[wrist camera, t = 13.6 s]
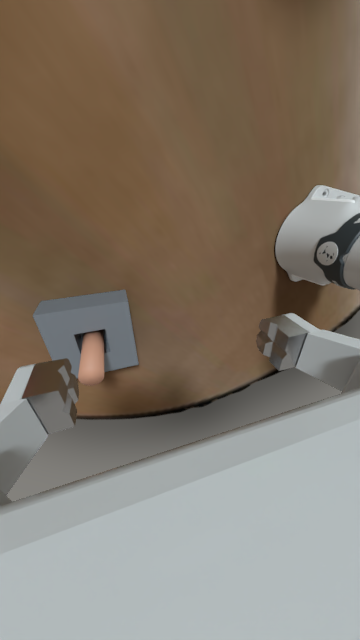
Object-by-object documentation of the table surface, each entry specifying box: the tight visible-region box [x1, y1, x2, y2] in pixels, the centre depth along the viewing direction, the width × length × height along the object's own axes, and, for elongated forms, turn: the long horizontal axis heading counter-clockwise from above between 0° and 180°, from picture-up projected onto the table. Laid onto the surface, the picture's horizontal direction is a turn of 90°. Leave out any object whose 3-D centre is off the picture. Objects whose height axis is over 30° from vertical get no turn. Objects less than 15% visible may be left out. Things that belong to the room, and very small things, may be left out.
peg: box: [78, 329, 104, 385], centre depth 36 cm, size 4×4×12 cm
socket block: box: [33, 290, 139, 378], centre depth 39 cm, size 14×14×5 cm
